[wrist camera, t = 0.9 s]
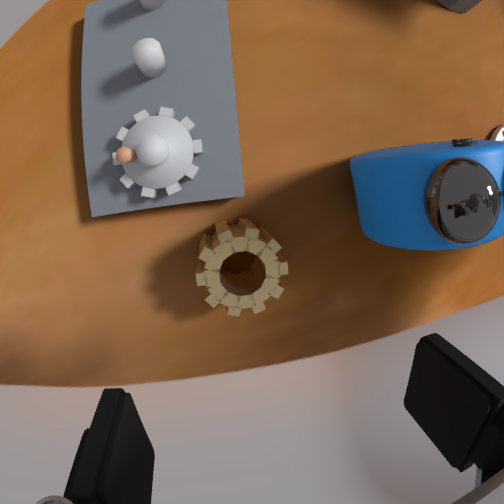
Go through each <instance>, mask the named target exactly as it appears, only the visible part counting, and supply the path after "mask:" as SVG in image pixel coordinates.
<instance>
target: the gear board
mask: <svg viewBox="0 0 504 504" xmlns="http://www.w3.org/2000/svg"><path fill="white" fill-rule="evenodd" d="M81 102H82V129H83V145H84V157H85V168H86V177H87V186H88V194H89V201H90V208H91V215H92V217H97V216H103V215H109V214H115V213H121V212H127V211H134V210H141V209H147V208H154V207H161V206H169V205H176V204H184V203H191V202H199V201H207V200H216V199H225V198H234V197H243V196H245V192H244V181H243V170H242V159H241V148H240V137H239V127H238V116H237V105H236V94H235V83H234V72H233V61H232V50H231V39H230V28H229V17H228V6H227V0H100V1H96V2H93V3H89V4H86V9H85V19H84V30H83V45H82V71H81Z"/></svg>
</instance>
